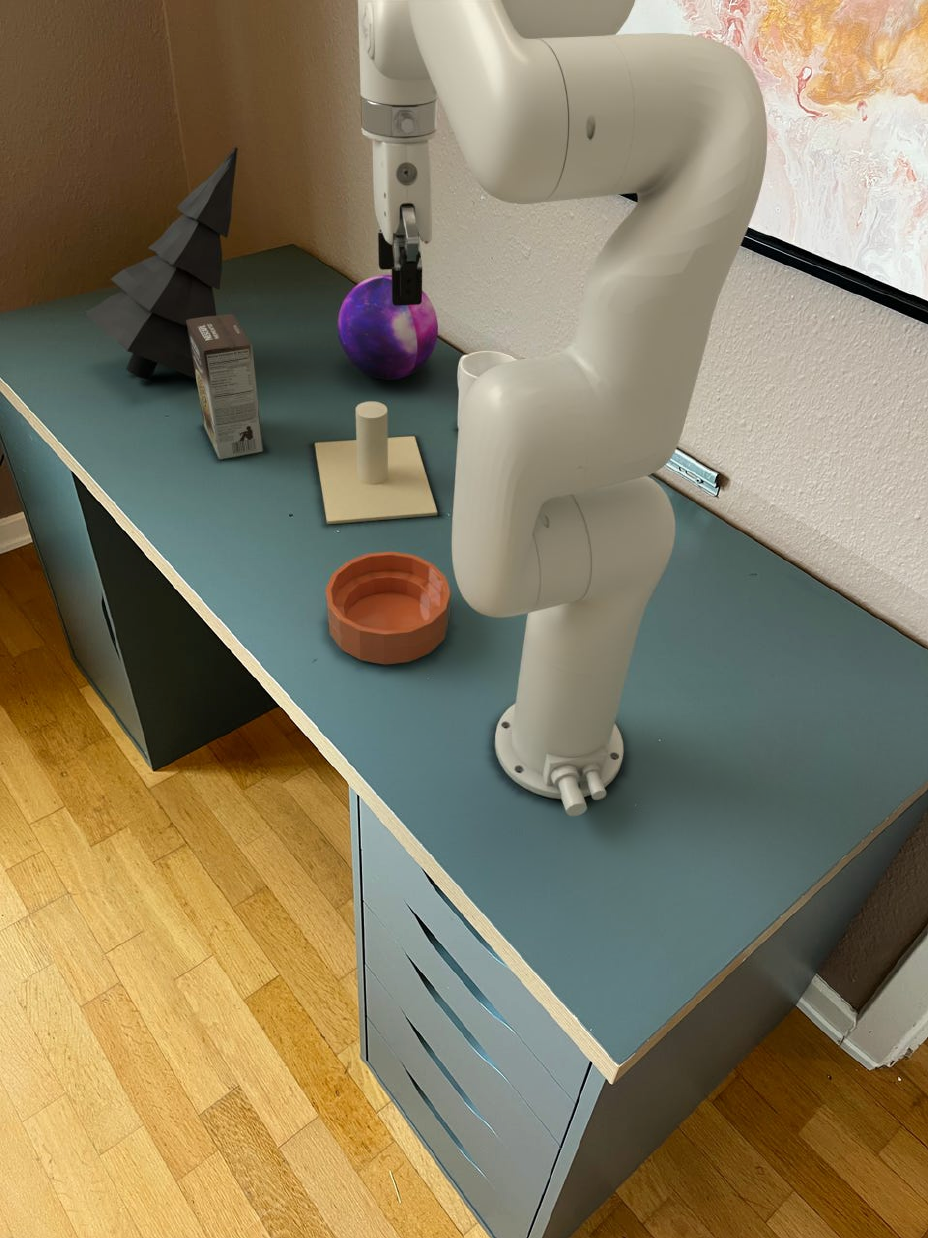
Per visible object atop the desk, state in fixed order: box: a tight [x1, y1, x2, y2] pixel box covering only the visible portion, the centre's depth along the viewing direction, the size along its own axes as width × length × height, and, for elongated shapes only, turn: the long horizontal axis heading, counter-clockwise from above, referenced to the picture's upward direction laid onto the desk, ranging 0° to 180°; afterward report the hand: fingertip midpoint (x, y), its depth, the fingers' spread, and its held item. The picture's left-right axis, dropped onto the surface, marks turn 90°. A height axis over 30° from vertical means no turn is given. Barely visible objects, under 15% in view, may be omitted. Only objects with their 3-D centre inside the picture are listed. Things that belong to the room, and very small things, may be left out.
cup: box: [456, 350, 517, 430], centre depth 131 cm, size 8×12×10 cm
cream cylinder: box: [354, 400, 389, 484], centre depth 119 cm, size 4×4×10 cm
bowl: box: [325, 551, 451, 665], centre depth 101 cm, size 13×13×5 cm
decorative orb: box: [337, 274, 439, 381], centre depth 138 cm, size 15×15×15 cm
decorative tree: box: [84, 146, 239, 381], centre depth 133 cm, size 15×15×35 cm
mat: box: [314, 435, 438, 525], centre depth 122 cm, size 18×14×1 cm
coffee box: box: [186, 313, 264, 460], centre depth 122 cm, size 9×6×16 cm
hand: (399, 285), depth 103 cm, fingers open, 9 cm apart
